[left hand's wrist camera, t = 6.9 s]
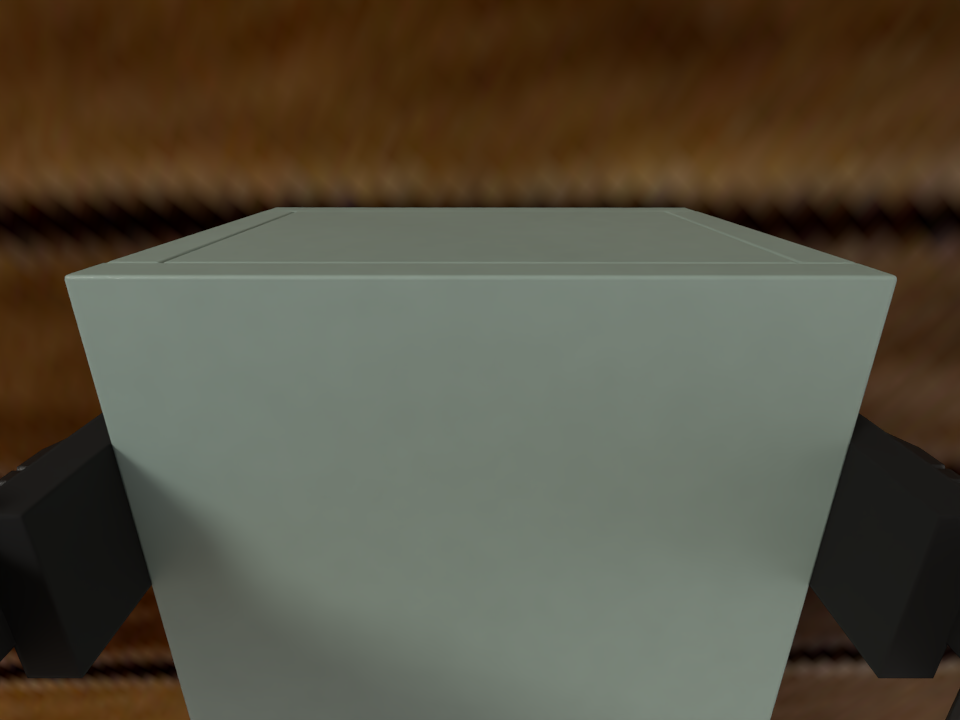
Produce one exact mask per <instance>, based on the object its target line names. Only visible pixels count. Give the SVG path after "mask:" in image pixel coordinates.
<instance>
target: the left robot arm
mask: <svg viewBox="0 0 960 720" xmlns="http://www.w3.org/2000/svg"><path fill="white" fill-rule="evenodd" d="M151 585H152V583H151V580H150V576H149V573H148V569H147V566H146V562H145V559H144V555H143V552H142V548H141V545H140V541H139V538H138V534H137V531H136V527H135V524H134V520H133V517H132V513H131V510H130V506H129V503H128V499H127V496H126V492H125V489H124V485H123V482H122V478H121V475H120V471H119V468H118V464H117V461H116V457H115V454H114V450H113V447H112V443H111V440H110V436H109V433H108V429H107V426H106V422H105V419H104V415H103V413H101V414H100V415H99V416H97V417H96V418H94V419H93V420H92V421H90V422H89V423H87V424H86V425H85V426H83V427H82V428H80V429H79V430H78V431H76V432H75V433H74V434H72V435H71V436H69V437H68V438H67V439H64V440H62V441H60V442H58V443H56V444H53V445H51V446H49V447H47V448H45V449H42V450H41V451H39V452H38V453H37V454H35V455H34V456H32V457H31V458H29V459H28V460H27V461H25V462H24V463H22V464H21V465H19V466H18V467H17V471H11V472H9V473H8V474H7V475H5V476H4V477H2V478H1V479H0V661H1V660H2V659H3V658H4V657H5V656H6V655H7V654H8V653H9V652H10V651H11V649H12V648H13V647H15V650H16V652H17V654H18V657H19V659H20V661H21V664H22V666H23V668H24V671H25V673H26V675H27V678H83V676H84V675H85V674H86V672H87V671H88V670H89V668H90V667H91V666H92V664H93V663H94V661H95V660H96V659H97V657H98V656H99V655H100V653H101V652H102V651H103V649H104V648H105V647H106V645H107V644H108V643H109V641H110V640H111V639H112V637H113V636H114V635H115V633H116V632H117V631H118V629H119V628H120V626H121V625H122V624H123V622H124V621H125V620H126V618H127V617H128V616H129V614H130V613H131V612H132V610H133V609H134V608H135V606H136V605H137V604H138V602H139V601H140V600H141V598H142V597H143V596H144V594H145V593H146V591H147V590H148V589H149V587H150V586H151ZM809 585H810V587H811V588H812V589H813V591H814V592H815V593H816V595H817V596H818V597H819V599H820V600H821V601H822V603H823V604H824V605H825V607H826V608H827V609H828V611H829V612H830V614H831V615H832V616H833V618H834V619H835V620H836V622H837V623H838V624H839V626H840V627H841V628H842V630H843V631H844V632H845V634H846V635H847V636H848V638H849V639H850V640H851V642H852V643H853V644H854V646H855V647H856V649H857V650H858V651H859V653H860V654H861V655H862V657H863V658H864V659H865V661H866V662H867V663H868V665H869V666H870V667H871V669H872V670H873V671H874V673H875V674H876V675H877V677H878V678H933V677H934V675H935V673H936V670H937V668H938V666H939V663H940V661H941V659H942V656H943V654H944V652H945V649H946V647H947V645H949V647H950V648H951V649H952V650H953V651H954V652H955V653H956V654H957V655H958V656H959V657H960V476H959V475H958V474H957V473H955V472H954V471H952V470H951V469H945V465H944V464H942V463H941V462H939V461H938V460H936V459H935V458H934V457H932V456H931V455H929V454H928V453H926V452H925V451H924V450H922V449H921V448H919V447H917V446H915V445H912V444H910V443H908V442H906V441H903V440H901V439H899V438H897V437H895V436H892V435H890V434H888V433H886V432H884V431H883V430H882V429H880V428H879V427H877V426H876V425H875V424H873V423H872V422H870V421H869V420H868V419H866V418H865V417H863V416H862V415H861V414H859V413H858V417H857V420H856V424H855V427H854V431H853V434H852V437H851V441H850V444H849V448H848V451H847V455H846V458H845V462H844V465H843V469H842V472H841V476H840V479H839V483H838V486H837V490H836V493H835V496H834V500H833V503H832V507H831V510H830V514H829V517H828V521H827V524H826V528H825V531H824V535H823V538H822V542H821V545H820V549H819V552H818V555H817V559H816V562H815V566H814V569H813V573H812V576H811V580H810V583H809ZM946 720H960V689H959V691H958V693H957V696H956V698H955V700H954V702H953V704H952V706H951V709H950V711H949V713H948V715H947V717H946Z"/></svg>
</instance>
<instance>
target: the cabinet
mask: <svg viewBox="0 0 960 720" xmlns="http://www.w3.org/2000/svg"><path fill="white" fill-rule="evenodd" d="M896 281H897V277H896V276H894V275H892V274H889V273H885V272H882V271H879V270H876V269H873V268H870V267H867V266H864V265H861V264H856V263H854V262H852V261H849V260H845V259H842V258H839V257H836V256H833V255H830V254H827V253H824V252H821V251H818V250H815V249H812V248H808V247H805V246H802V245H799V244H796V243H793V242H790V241H787V240H784V239H781V238H778V237H774V236H771V235H768V234H765V233H762V232H759V231H756V230H753V229H750V228H747V227H744V226H740V225H737V224H734V223H731V222H728V221H725V220H722V219H719V218H716V217H713V216H710V215H706V214H703V213H700V212H697V211H693V210H690V209H687V208H274V209H271V210H268V211H264V212H261V213H258V214H255V215H252V216H248V217H245V218H242V219H239V220H236V221H233V222H230V223H227V224H224V225H221V226H218V227H214V228H211V229H208V230H205V231H202V232H199V233H196V234H193V235H190V236H187V237H184V238H181V239H177V240H174V241H171V242H168V243H165V244H162V245H159V246H156V247H153V248H150V249H147V250H143V251H140V252H137V253H134V254H131V255H128V256H125V257H122V258H119V259H116V260H113V261H110V262H108V263H102V264H99V265H96V266H93V267H90V268H87V269H84V270H80V271H77V272H74V273H71V274H68V275H66V276H65V282H66V286H67V289H68V293H69V296H70V300H71V303H72V307H73V310H74V314H75V317H76V321H77V324H78V328H79V331H80V335H81V338H82V342H83V345H84V349H85V352H86V356H87V359H88V363H89V366H90V370H91V373H92V377H93V380H94V384H95V387H96V391H97V394H98V398H99V401H100V405H101V408H102V412H103V415H104V419H105V422H106V426H107V429H108V433H109V436H110V440H111V443H112V447H113V450H114V454H115V457H116V461H117V464H118V468H119V471H120V475H121V478H122V482H123V485H124V489H125V492H126V496H127V499H128V503H129V506H130V510H131V513H132V517H133V520H134V524H135V527H136V531H137V534H138V538H139V541H140V545H141V548H142V552H143V555H144V559H145V562H146V566H147V569H148V573H149V576H150V580H151V583H152V587H153V590H154V594H155V597H156V601H157V604H158V608H159V611H160V615H161V618H162V622H163V625H164V629H165V632H166V636H167V639H168V643H169V646H170V650H171V653H172V657H173V660H174V664H175V667H176V671H177V674H178V678H179V681H180V685H181V688H182V692H183V695H184V699H185V702H186V706H187V709H188V713H189V716H190V720H770V719H771V715H772V712H773V708H774V705H775V701H776V698H777V694H778V691H779V687H780V684H781V680H782V677H783V673H784V670H785V667H786V663H787V660H788V656H789V653H790V649H791V646H792V642H793V639H794V635H795V632H796V628H797V625H798V621H799V618H800V614H801V611H802V608H803V604H804V601H805V597H806V594H807V590H808V587H809V583H810V580H811V576H812V573H813V569H814V566H815V562H816V559H817V555H818V552H819V549H820V545H821V542H822V538H823V535H824V531H825V528H826V524H827V521H828V517H829V514H830V510H831V507H832V503H833V500H834V496H835V493H836V490H837V486H838V483H839V479H840V476H841V472H842V469H843V465H844V462H845V458H846V455H847V451H848V448H849V444H850V441H851V437H852V434H853V431H854V427H855V424H856V420H857V417H858V413H859V410H860V406H861V403H862V399H863V396H864V392H865V389H866V385H867V382H868V378H869V375H870V372H871V368H872V365H873V361H874V358H875V354H876V351H877V347H878V344H879V340H880V337H881V333H882V330H883V326H884V323H885V319H886V316H887V313H888V309H889V306H890V302H891V299H892V295H893V292H894V288H895V285H896Z"/></svg>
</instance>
